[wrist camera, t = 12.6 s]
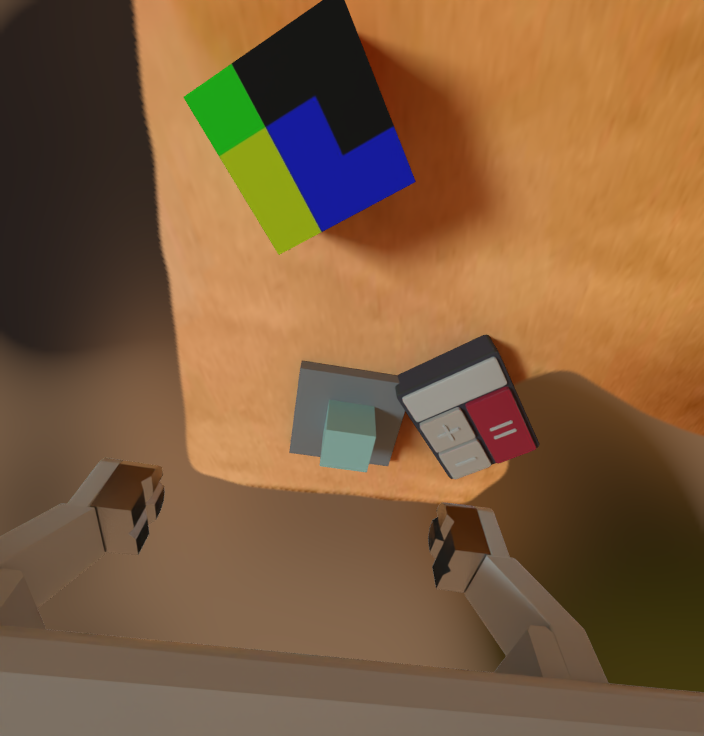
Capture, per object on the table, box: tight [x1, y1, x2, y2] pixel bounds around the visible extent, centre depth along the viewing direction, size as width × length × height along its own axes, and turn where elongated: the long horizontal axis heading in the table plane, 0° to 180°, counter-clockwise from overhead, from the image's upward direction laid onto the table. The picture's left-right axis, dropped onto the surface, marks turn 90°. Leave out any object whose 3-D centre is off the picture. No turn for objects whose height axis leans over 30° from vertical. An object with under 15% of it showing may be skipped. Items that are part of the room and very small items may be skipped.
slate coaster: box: [289, 361, 405, 466], centre depth 46 cm, size 12×12×2 cm
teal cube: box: [320, 400, 376, 472], centre depth 43 cm, size 5×5×5 cm
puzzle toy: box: [184, 0, 416, 255], centre depth 28 cm, size 10×10×10 cm
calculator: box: [395, 335, 539, 479], centre depth 45 cm, size 11×4×15 cm
